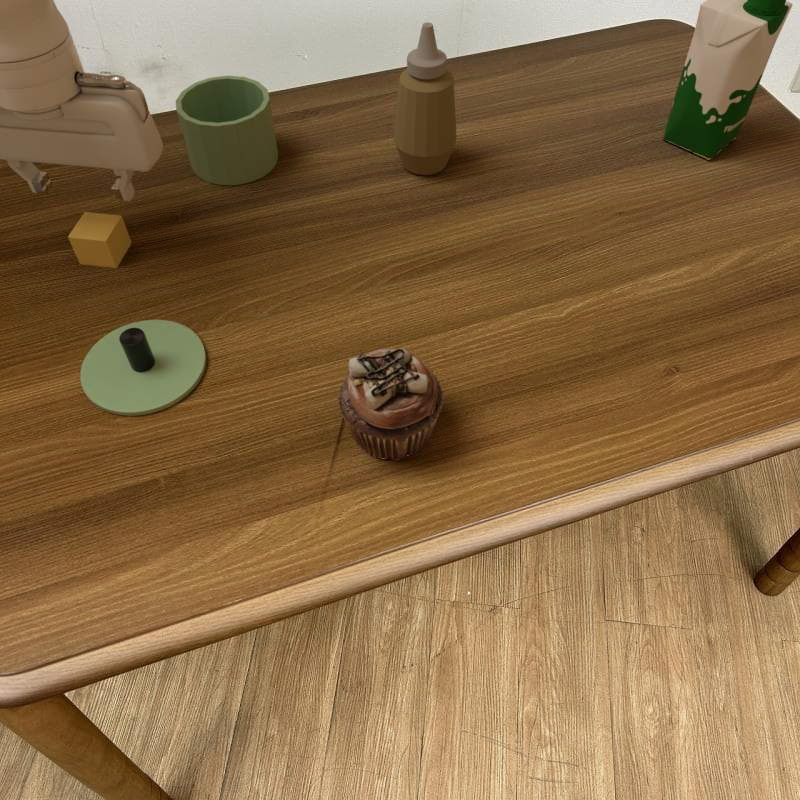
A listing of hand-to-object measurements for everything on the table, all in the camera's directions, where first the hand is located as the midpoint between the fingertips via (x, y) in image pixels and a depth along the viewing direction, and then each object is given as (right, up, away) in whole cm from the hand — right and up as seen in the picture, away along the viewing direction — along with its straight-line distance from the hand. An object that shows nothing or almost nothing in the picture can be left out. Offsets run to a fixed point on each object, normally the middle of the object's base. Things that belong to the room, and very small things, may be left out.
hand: (84, 194), depth 80 cm
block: (0, -5, +7) cm, 9 cm away
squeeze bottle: (+37, +9, +18) cm, 42 cm away
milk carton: (+74, +13, +21) cm, 78 cm away
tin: (+12, +10, +19) cm, 24 cm away
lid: (+8, -19, -4) cm, 21 cm away
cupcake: (+33, -25, -8) cm, 42 cm away
